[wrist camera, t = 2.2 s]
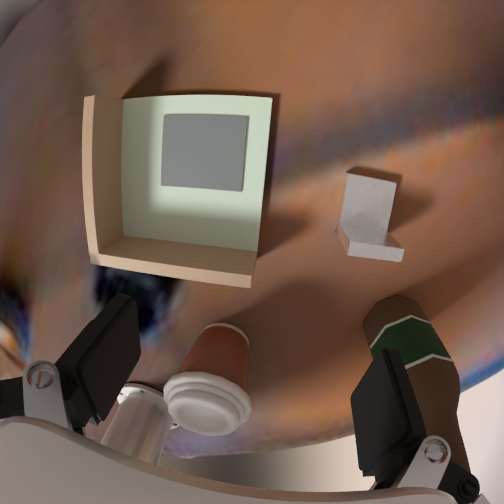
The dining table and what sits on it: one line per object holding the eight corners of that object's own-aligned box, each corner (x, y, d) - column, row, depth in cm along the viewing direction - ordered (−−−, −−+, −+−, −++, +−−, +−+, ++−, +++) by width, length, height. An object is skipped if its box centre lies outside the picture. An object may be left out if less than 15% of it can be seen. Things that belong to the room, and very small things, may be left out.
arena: (256, 259, 30) (250, 288, 24) (119, 241, 31) (90, 263, 25) (272, 99, 23) (269, 88, 18) (118, 100, 24) (84, 97, 19)
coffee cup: (270, 360, 35) (263, 438, 24) (208, 371, 37) (186, 441, 26) (243, 305, 32) (224, 385, 21) (176, 322, 34) (139, 393, 23)
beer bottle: (348, 322, 32) (389, 524, 10) (399, 280, 29) (498, 471, 7) (381, 353, 33) (425, 521, 11) (428, 317, 30) (507, 477, 8)
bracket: (380, 237, 27) (400, 262, 22) (335, 231, 28) (347, 255, 22) (392, 181, 25) (417, 193, 19) (345, 172, 25) (361, 181, 20)
